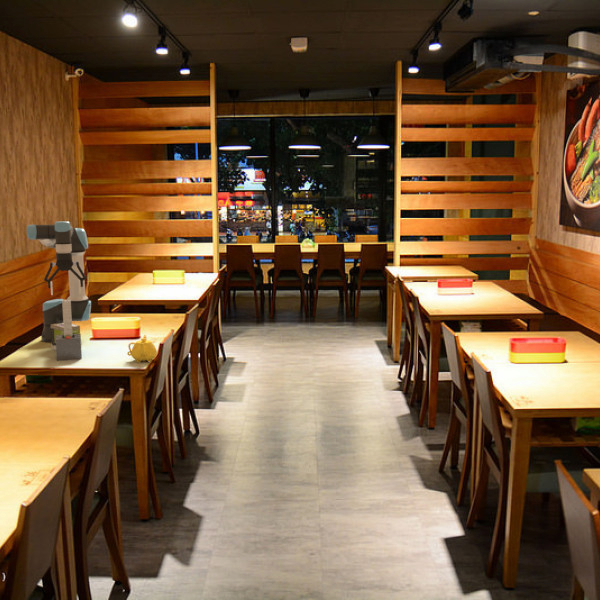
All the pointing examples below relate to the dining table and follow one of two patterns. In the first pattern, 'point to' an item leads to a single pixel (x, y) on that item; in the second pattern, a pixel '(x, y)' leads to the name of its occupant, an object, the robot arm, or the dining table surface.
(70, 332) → the column
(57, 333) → the tea box
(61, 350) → the stand base
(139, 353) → the teapot
